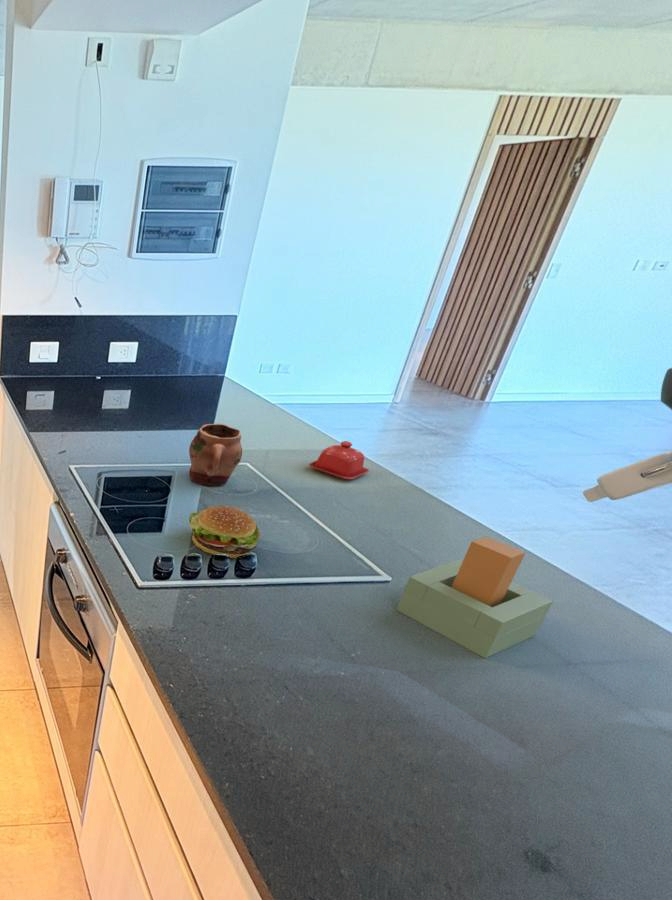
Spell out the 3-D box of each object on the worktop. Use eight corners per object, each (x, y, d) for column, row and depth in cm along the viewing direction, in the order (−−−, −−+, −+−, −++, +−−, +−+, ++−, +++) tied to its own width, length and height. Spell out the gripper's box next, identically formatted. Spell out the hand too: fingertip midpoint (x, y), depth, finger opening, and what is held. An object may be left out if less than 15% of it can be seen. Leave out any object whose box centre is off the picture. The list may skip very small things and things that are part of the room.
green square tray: (535, 635, 102) (553, 600, 98) (484, 658, 96) (502, 622, 93) (445, 591, 113) (459, 558, 110) (396, 610, 108) (409, 576, 105)
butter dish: (371, 474, 161) (381, 443, 157) (349, 484, 155) (359, 453, 152) (326, 460, 170) (335, 431, 166) (304, 469, 164) (312, 439, 160)
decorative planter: (240, 501, 147) (253, 446, 140) (186, 495, 149) (197, 442, 143) (229, 469, 164) (240, 419, 158) (181, 465, 167) (190, 415, 160)
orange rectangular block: (461, 591, 106) (486, 536, 101) (497, 609, 101) (525, 552, 96) (446, 597, 104) (471, 541, 99) (483, 615, 100) (511, 557, 95)
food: (194, 522, 137) (200, 490, 133) (261, 540, 130) (270, 507, 126) (174, 548, 127) (181, 514, 123) (246, 569, 120) (256, 533, 116)
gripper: (699, 484, 73) (574, 525, 86) (803, 450, 78) (671, 493, 91) (663, 438, 75) (547, 485, 88) (768, 408, 80) (643, 456, 93)
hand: (611, 489), depth 89 cm, fingers open, 8 cm apart
